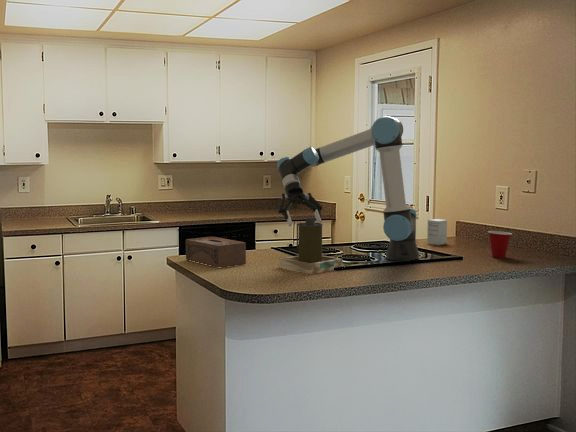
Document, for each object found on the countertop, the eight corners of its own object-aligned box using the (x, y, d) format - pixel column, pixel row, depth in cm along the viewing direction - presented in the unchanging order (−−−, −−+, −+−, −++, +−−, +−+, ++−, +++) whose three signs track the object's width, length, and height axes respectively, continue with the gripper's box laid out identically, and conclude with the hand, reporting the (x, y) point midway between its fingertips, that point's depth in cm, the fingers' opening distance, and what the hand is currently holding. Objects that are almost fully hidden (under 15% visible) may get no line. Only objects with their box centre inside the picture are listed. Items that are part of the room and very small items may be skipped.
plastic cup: (516, 258, 322) (517, 232, 320) (497, 259, 318) (498, 233, 316) (500, 254, 332) (501, 229, 330) (482, 256, 327) (482, 230, 326)
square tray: (311, 262, 312) (311, 253, 312) (344, 268, 298) (344, 258, 297) (277, 267, 299) (277, 258, 298) (310, 274, 284) (310, 264, 284)
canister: (324, 262, 302) (324, 216, 300) (319, 267, 292) (319, 219, 290) (300, 261, 304) (300, 216, 302) (294, 266, 294) (294, 218, 292)
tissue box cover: (186, 261, 317) (185, 239, 316) (212, 257, 326) (212, 236, 325) (218, 269, 298) (218, 245, 296) (245, 265, 307) (245, 242, 306)
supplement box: (435, 242, 371) (436, 218, 369) (447, 243, 365) (447, 219, 364) (426, 243, 366) (427, 219, 365) (438, 245, 360) (438, 221, 359)
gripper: (316, 191, 321) (329, 227, 308) (264, 193, 312) (276, 230, 300) (320, 180, 315) (334, 216, 303) (268, 181, 306) (280, 219, 294)
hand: (305, 223), depth 301 cm, fingers open, 13 cm apart
